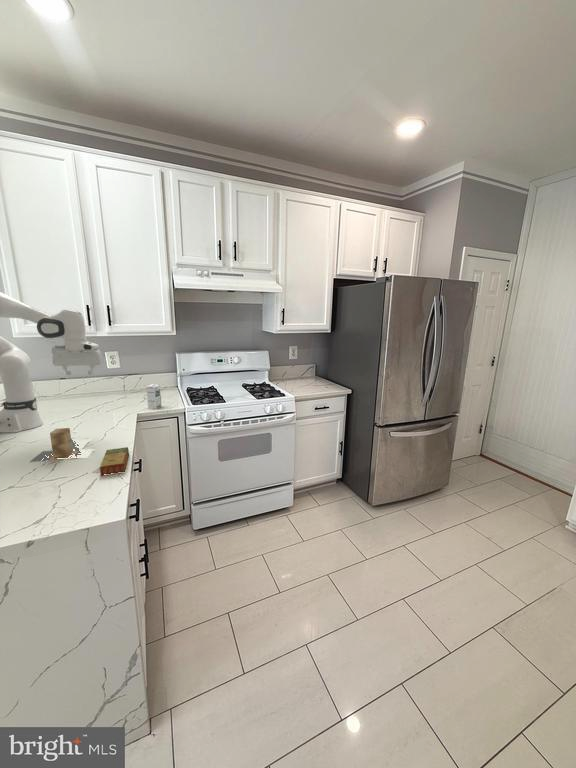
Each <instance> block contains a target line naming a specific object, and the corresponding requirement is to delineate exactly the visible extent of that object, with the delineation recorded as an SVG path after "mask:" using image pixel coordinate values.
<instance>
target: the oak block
mask: <svg viewBox="0 0 576 768" xmlns="http://www.w3.org/2000/svg"><path fill="white" fill-rule="evenodd" d="M71 435H72V434H71V427H66V428H65V427H63V428H61V427H60V428H55V429H54V430H52V431H50V432H49V436H50V442H51V451H53V457H54V459H56V458H68V457H69V456H70V455H71V454H72V453H73V448H72V441H71V439H72V436H71Z"/></svg>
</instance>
